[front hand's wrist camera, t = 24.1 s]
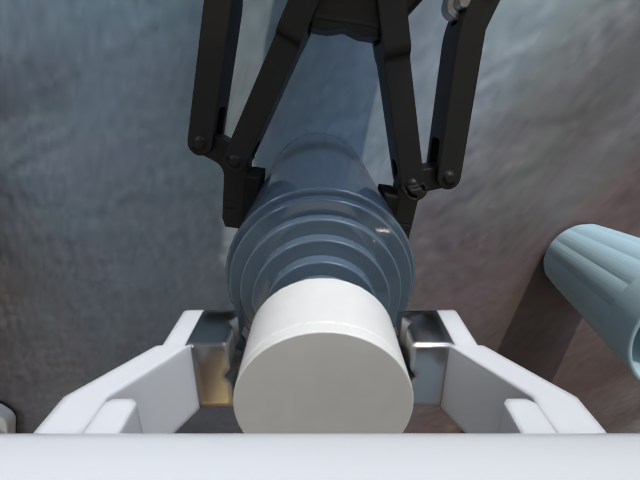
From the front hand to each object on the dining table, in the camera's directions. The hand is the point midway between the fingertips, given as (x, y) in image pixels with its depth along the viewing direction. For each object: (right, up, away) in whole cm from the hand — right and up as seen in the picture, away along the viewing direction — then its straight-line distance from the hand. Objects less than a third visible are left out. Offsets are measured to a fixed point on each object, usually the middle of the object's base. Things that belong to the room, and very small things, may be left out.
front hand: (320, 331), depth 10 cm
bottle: (0, +7, +17) cm, 18 cm away
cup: (+20, +1, +19) cm, 28 cm away
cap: (0, -1, -2) cm, 2 cm away
